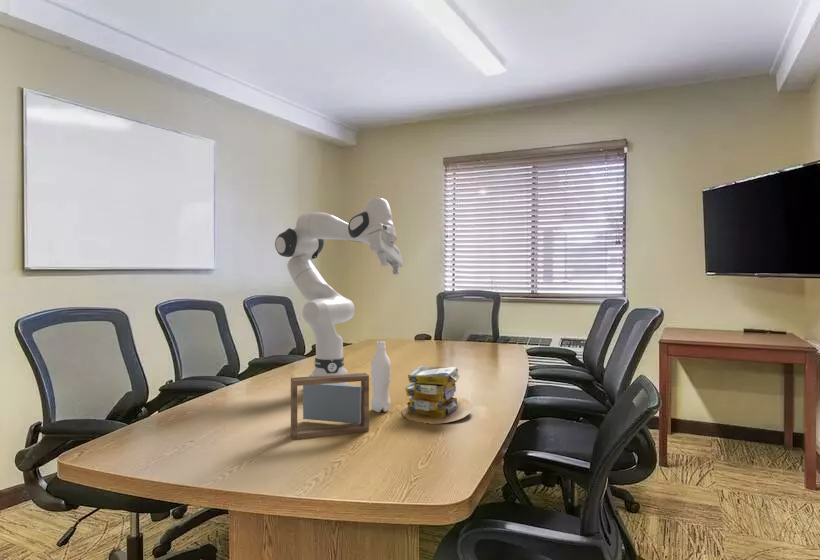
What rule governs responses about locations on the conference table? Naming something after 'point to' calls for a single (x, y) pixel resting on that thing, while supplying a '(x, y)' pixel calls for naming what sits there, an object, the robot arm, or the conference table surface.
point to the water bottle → (380, 379)
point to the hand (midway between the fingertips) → (390, 270)
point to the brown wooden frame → (336, 428)
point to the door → (332, 403)
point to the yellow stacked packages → (434, 396)
